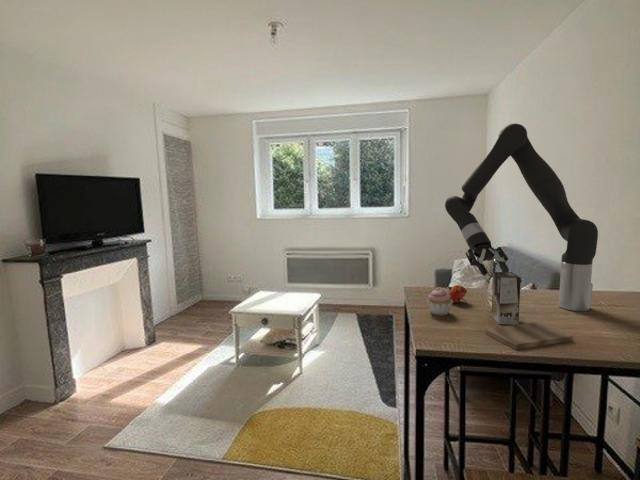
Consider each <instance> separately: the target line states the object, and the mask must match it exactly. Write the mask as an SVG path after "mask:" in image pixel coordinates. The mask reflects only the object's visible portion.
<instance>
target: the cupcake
mask: <svg viewBox="0 0 640 480" xmlns="http://www.w3.org/2000/svg"><path fill="white" fill-rule="evenodd" d="M426 302H427V304H428V306H429V312H430V313H431V314H432V315H434V316H440V317H441V316H442V317H444V316H447V315H449V313H450V310H451V307H452V305H453V304H454V303H453V301H452V300H450V296H449V294H448V292H447V291H446V289H445V288H443V287H441V286H438V287H437V289H434V290H432V291H431V293H429V294H428V297H427V298H426Z"/></svg>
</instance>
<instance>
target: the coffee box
mask: <svg viewBox="0 0 640 480" xmlns="http://www.w3.org/2000/svg"><path fill="white" fill-rule="evenodd" d="M521 282H522V277H521V276H519V275H517V274H515V273H513V272H512V271H508V272H502V271H492V289H491V291H492V292H491V293H492V296H491V317H492V318H494V320H495V321H496V322H497V324H499V325H508V326H512V325H519V323H520V303H521V302H520V301H521V284H522V283H521Z"/></svg>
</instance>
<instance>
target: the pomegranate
mask: <svg viewBox="0 0 640 480" xmlns="http://www.w3.org/2000/svg"><path fill="white" fill-rule="evenodd" d="M446 288H448V292H447V293H448V294H449V296H450V300H452V301H453V303H452V304H458V303H460V301H461V300H462V301H464V302H466V303H467V300H465V299H464V297H465V296H466V294H467V293H468V291H467V290H468V289H466V288H465V287H464V286H463V285H459V284H457V285H453V286H451V287H450V286H446Z"/></svg>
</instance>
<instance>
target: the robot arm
mask: <svg viewBox="0 0 640 480" xmlns="http://www.w3.org/2000/svg"><path fill="white" fill-rule="evenodd" d="M510 157H511V158H512V159H513V161H514V162H515V164H516V165H517V166H518V170H519V171H520V173H521V175H522V177H523V178H524V180H525V183H526V184H527V186H528V187H529V189H530V190H531V192H532V193H533V195H534V196H535V198H536V199H537V200H538V201H539V203H540V204H541V205H542V207H543V208H544V210H545V211H546V212H547V213H548V215H549V216H550V218H551V220H552V221H553V223H554V225H555V226H556V229H557V231H558V233H559V235H560V237H561V238H562V239H563V240H565V242H566V250H565V252H564V253H562V255H561V263H560V264H561V265H560V276H559V277H560V279H559V294H558V295H559V296H558V307H560V308H562V309H564V310H568V311H574V312H587V311H589V310H590V309H592V301H593V300H592V299H593V298H592V297H593V285H594V284H593V282H592V276H593V275H592V273H593V260H594V258H595V257H596V255H597V248H598V247H597V246H598V241H599V239H598V238H599V231H598V227H597V225H596V224H595V223H594V222H593V221H591V220H588V219H585V218H580V216H579V215H578V214H577V213H576V211H575V210H574V209H573V208H572V206H571V204H570V203H569V201H568V197H567V194H566V193H567V192H566V190H565V187H564V184H563V181H561V180H560V177H559V176H558V175H557V174H556V172H555V170H554V169H553V168H552V167H551V166H550V165H549V164H548V162H546V160H544V158H543V157H542V156H541V155H540V154H539V153H538V152H537V151H536V150H535V148H534V146H533V144H532V143H531V141H530V139H529V137H528V130H527V129H526V128H525V126H524V125H522V124H520V123H509V124H507V125H505V126H504V127H502V129H501V130H500V131H499V134H498V137H497V139H496V141H495V143H494V144H493V146H492V148H491V150H490V151H489V153H488V154H487V155H486V156H485V158H484V159H483V161H481V162H480V163H479V165H478V166H477V167H476V168H475V169H474V170H473V172H472V173H471V174H470V175H469V177H468V178H467V179H466V180H465V182H464V183H463V185H462V186H461V190H462V192H463V194H462V197H460V196H457V195H451V196H449V197H447V198H446V200H445V203H444V208H445V211H446V213H448V215H449V216H450V217H451V219H452V220H453V221H454V222H455V224H457V226H458V229H459V230H460V232H461V234H462V236H463V239H464V241H465V242H466V245H467V246H468V249H467V251H466V252H465V256H466V257H467V259H468V260H467V261H468V262H469V264H470V266H471V267H474V266H475V267H476V268H478V271H479V272H480V274H481V275H482V276H487V275H488V274H489V272H488V270H487V268H486V266H485V265H484V264H485V263H483V262H486V261H487V262H488V261H489V262H490V261H491V262H493V263H495V264H497V265H499V266H498V267H499V268H500V270H501V272H510V270H509V269H510V268H509V266H508V265H507V262H508V261H509V257H508V256H507V253H505V252H504V250H503V249H502V247H501V246H498V247H496V248H494V247H493V246H492V242H491V240H490V238H489V237H488V234H487V233H486V231H485V230H484V228H483V227H482V226H481V224H480V223H479V221H478V220H477V218H476V216H475V215H474V214H473V213H472V212H471V210H472V209H473V207H474V205H475V202H476V201H477V199H478V196H479V195H480V194H481V192H482V191H483V190H484V189H485V187H486V186H487V185H488V183H489V182H490V181H491V179H492V178H493V177H494V175H495V174H496V173H497V172H498V170H499V169H500V168H501V167H502V165H503V164H504V163H505V162H506V160H508V158H510Z"/></svg>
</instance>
